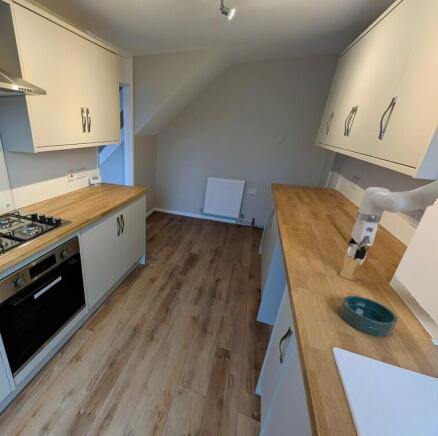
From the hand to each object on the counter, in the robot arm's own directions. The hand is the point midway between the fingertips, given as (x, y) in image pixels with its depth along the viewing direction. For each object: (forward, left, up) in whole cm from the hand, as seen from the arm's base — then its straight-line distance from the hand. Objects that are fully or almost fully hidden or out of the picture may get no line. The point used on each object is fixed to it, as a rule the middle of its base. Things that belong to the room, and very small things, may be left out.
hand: (355, 253), depth 105 cm
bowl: (+3, +32, -12) cm, 34 cm away
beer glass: (0, 0, -12) cm, 12 cm away
